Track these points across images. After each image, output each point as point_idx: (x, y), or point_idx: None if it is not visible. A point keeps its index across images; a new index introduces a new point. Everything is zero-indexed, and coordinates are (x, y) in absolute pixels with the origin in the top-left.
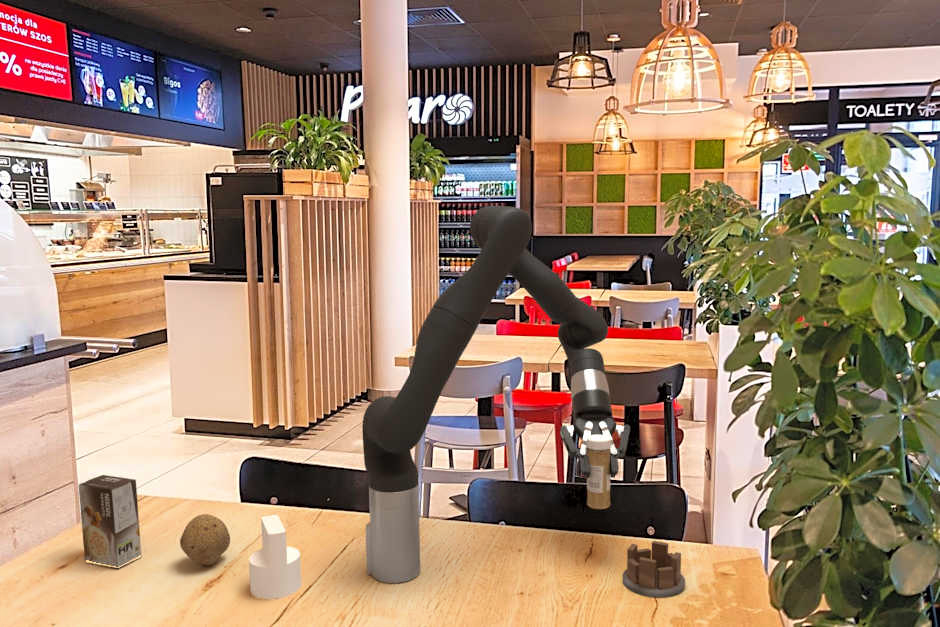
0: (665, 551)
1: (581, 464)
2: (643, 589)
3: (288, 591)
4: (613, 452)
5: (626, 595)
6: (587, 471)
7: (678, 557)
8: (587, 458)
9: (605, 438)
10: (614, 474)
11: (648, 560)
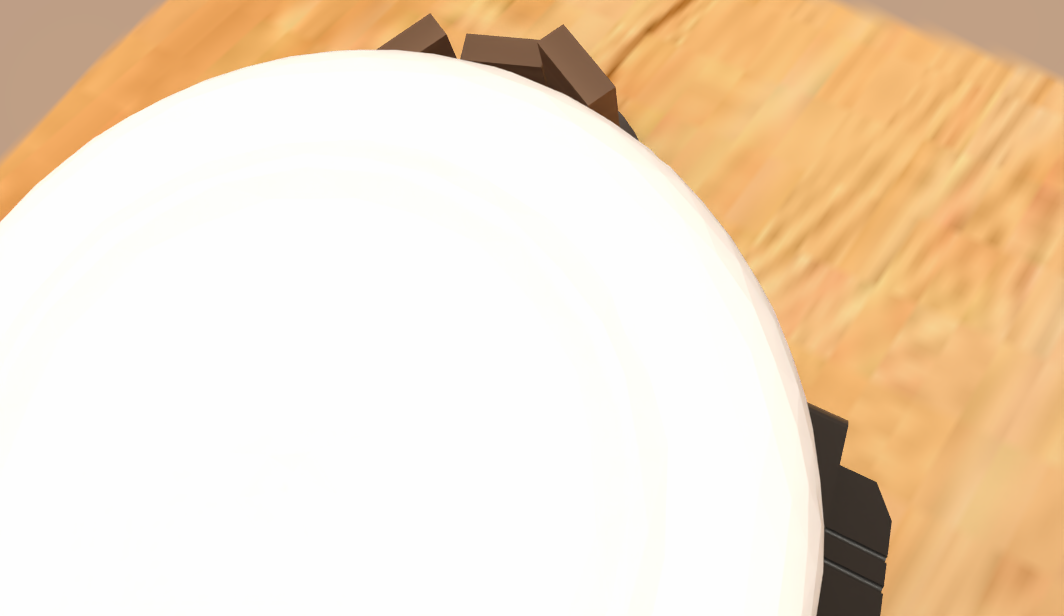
0: None
1: (873, 590)
2: (623, 126)
3: None
4: None
5: (698, 167)
6: (825, 411)
7: (405, 31)
8: None
9: (200, 186)
10: None
11: (576, 57)
